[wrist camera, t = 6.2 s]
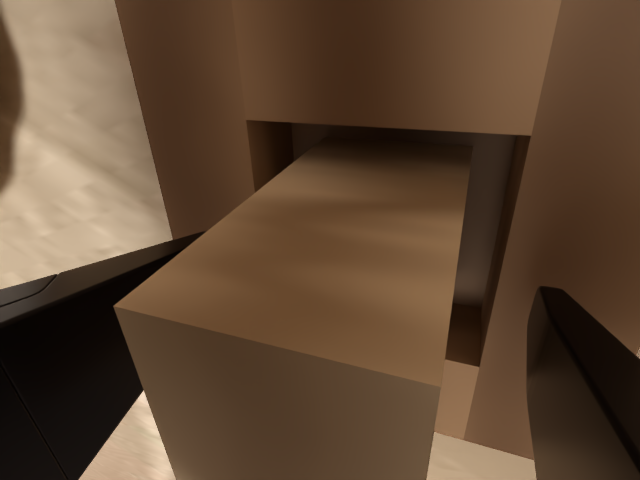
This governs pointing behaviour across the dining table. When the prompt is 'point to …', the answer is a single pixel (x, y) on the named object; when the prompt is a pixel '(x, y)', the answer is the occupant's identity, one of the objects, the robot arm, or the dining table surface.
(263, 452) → the maple peg
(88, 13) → the dining table surface
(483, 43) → the socket block
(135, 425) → the dining table surface
